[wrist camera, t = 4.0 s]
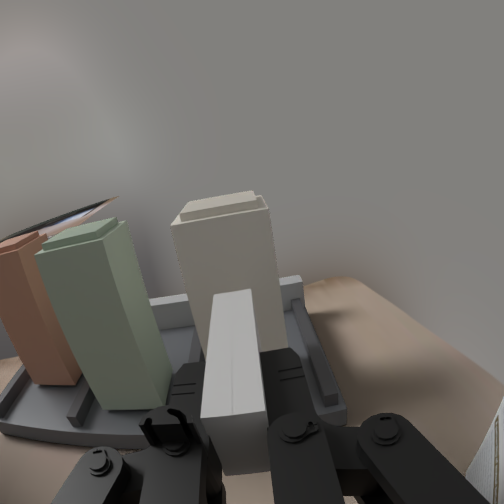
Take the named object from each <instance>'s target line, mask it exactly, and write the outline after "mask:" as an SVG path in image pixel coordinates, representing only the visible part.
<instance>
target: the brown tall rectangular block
mask: <svg viewBox="0 0 504 504" xmlns="http://www.w3.org/2000/svg"><path fill="white" fill-rule="evenodd" d="M47 240H48V238H47V235H46V234H42V235H39V233H38V231H36V232H32V233H29V234H25V235H22V236H18V237H15V238H12V239H8V240H6V241H4V242H2V243H0V318H1V320H2V322H3V324H4V326H5V329H6V331H7V333H8V335H9V337H10V339H11V341H12V343H13V345H14V347H15V349H16V351H17V353H18V355H19V357H20V359H21V361H22V363H23V365H24V366H25V368H26V370H27V372H28V374H29V375H30V377H31V379H32V381H33V382H34V384H38V385H76V383H77V381H78V379H79V378H80V376H81V374H82V371H81V369H80V367H79V365H78V363H77V361H76V359H75V357H74V355H73V353H72V351H71V348H70V346H69V344H68V342H67V340H66V338H65V335H64V333H63V331H62V329H61V326H60V324H59V322H58V319H57V317H56V314H55V312H54V309H53V307H52V304H51V302H50V299H49V297H48V294H47V291H46V289H45V286H44V283H43V280H42V278H41V275H40V272H39V269H38V266H37V263H36V260H35V257H34V255H35V254H36V253H38V252H39V251H41V250H42V249H43V248H42V245H41V244H42V243H44V242H46V241H47Z"/></svg>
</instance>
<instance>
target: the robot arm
mask: <svg viewBox="0 0 504 504" xmlns="http://www.w3.org/2000/svg"><path fill="white" fill-rule="evenodd" d="M171 395H172V396H171V398H170V402H169V405H165V406H160V407H157V408H155V409H153V410H151V411H149V412H148V413H147V414H146V415H145V416H143V417H142V419H141V421H140V423H139V427H140V429H141V430H142V432H143V434H144V435H145V437H146V439H147V440H148V442H149V444H150V445H151V446H150V447H149V448H147V449H144V450H141V451H138V452H134V453H130V454H126V455H120V454H119V452H118V451H117V450H115V449H113V448H111V447H105V446H101V447H96V448H93V449H91V450H89V451H88V452H86V453H85V454H84V455H83V456H82V457H81V458H80V460H79V461H78V463H77V464H76V466H75V467H74V469H73V470H72V472H71V473H70V475H69V476H68V478H67V479H66V481H65V483H64V484H63V486H62V487H61V489H60V490H59V492H58V493H57V495H56V496H55V498H54V499H53V501H52V503H51V504H226V491H225V487H224V484H223V482H222V470H223V472H224V474H225V476H230V475H241V474H251V473H259V472H267V471H271V478H272V486H273V495H274V503H275V504H345V502H344V498H343V496H354V498H355V499H356V501H357V502H358V503H359V504H490V503H489V502H488V501H487V500H486V499H485V498H484V497H483V496H482V495H481V494H480V493H479V492H478V491H477V490H476V489H475V487H474V486H473V485H472V484H471V483H470V482H469V481H468V480H467V479H466V478H465V477H464V476H463V475H462V474H461V473H460V472H459V471H458V470H457V469H456V468H455V467H454V466H453V465H452V464H451V463H450V462H449V461H448V460H447V459H446V458H445V457H444V456H443V455H442V454H441V453H440V452H439V451H438V450H437V449H436V448H435V447H434V446H433V445H432V444H431V443H430V442H429V441H428V440H427V439H426V438H425V437H424V436H423V435H422V434H421V433H420V432H419V431H418V430H417V429H416V428H415V427H414V426H413V425H412V424H411V423H410V422H409V421H408V420H407V419H405V418H404V417H402V416H401V415H397V414H393V413H380V414H377V415H374V416H371V417H370V418H368V419H367V420H365V421H364V422H363V423H362V425H361V426H360V427H341V426H334V425H331V424H328V423H326V422H325V421H323V420H322V419H321V418H320V417H319V416H318V415H317V413H316V411H315V408H314V405H313V401H312V398H311V394H310V391H309V387H308V384H307V381H306V377H305V374H304V370H303V367H302V363H301V360H300V357H299V355H298V354H297V353H296V352H295V351H294V350H293V349H292V348H290V347H288V348H282V349H277V350H271V351H265V352H262V349H261V342H260V337H259V331H258V326H257V320H256V315H255V309H254V303H253V298H252V292H251V289H246V290H240V291H234V292H228V293H221V294H215V295H214V296H213V305H212V313H211V321H210V330H209V339H208V348H207V357H206V361H202V362H193V363H184V364H183V365H182V366H181V368H180V369H179V370H178V371H177V373H176V374H175V379H174V383H173V388H172V393H171Z"/></svg>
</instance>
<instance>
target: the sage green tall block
mask: <svg viewBox="0 0 504 504" xmlns="http://www.w3.org/2000/svg"><path fill="white" fill-rule="evenodd" d="M41 245H42V248H43V249H42V250H41V251H39V252H38V253H36V254H35V255H34V257H35V260H36V263H37V266H38V269H39V272H40V275H41V278H42V280H43V283H44V286H45V289H46V291H47V294H48V297H49V299H50V302H51V304H52V307H53V309H54V312H55V314H56V317H57V319H58V322H59V324H60V326H61V329H62V331H63V333H64V335H65V338H66V340H67V342H68V344H69V346H70V348H71V351H72V353H73V355H74V357H75V359H76V361H77V363H78V365H79V367H80V369H81V371H82V373H83V375H84V377H85V378H86V380H87V382H88V384H89V386H90V388H91V390H92V391H93V393H94V395H95V397H96V399H97V400H98V402H99V404H100V406H101V407H102V409H103V410H134V409H155V408H157V407H160V406H165V404H166V399H167V394H168V390H169V385H170V381H171V376H172V372H173V368H172V366H171V363H170V360H169V358H168V355H167V352H166V349H165V346H164V344H163V341H162V338H161V335H160V332H159V329H158V326H157V323H156V320H155V317H154V314H153V311H152V308H151V305H150V301H149V298H148V295H147V292H146V289H145V285H144V282H143V278H142V275H141V271H140V268H139V265H138V261H137V257H136V254H135V250H134V246H133V242H132V238H131V235H130V231H129V227H128V223H127V221H122V222H118V221H117V217H114V218H109V219H105V220H101V221H96V222H92V223H88V224H84V225H80V226H76V227H72V228H68V229H66V230H64V231H62V232H60V233H59V234H57V235H55V236H54V237H52V238H51V239H49V240H47V241H46V242H44V243H42V244H41Z"/></svg>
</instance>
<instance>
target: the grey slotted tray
mask: <svg viewBox="0 0 504 504" xmlns="http://www.w3.org/2000/svg"><path fill="white" fill-rule="evenodd" d="M279 282H280V289H281V297H282V304H283V312H284V319H285V327H286V335H287V342H288V347H290V348H292V349H293V350H294V351H295V352H296V353H297V354H298V355H299V357H300V360H301V363H302V367H303V370H304V374H305V377H306V381H307V384H308V387H309V391H310V394H311V398H312V401H313V405H314V408H315V411H316V413H317V415H318V416H319V417H320V418H321V419H322V420H323V421H325V422H326V423H328V424H331V425H334V426H342V425H346V423H347V407H346V404H345V402H344V399H343V397H342V394H341V392H340V390H339V387H338V385H337V382H336V380H335V377H334V375H333V372H332V370H331V368H330V365H329V363H328V360H327V358H326V355H325V353H324V351H323V348H322V346H321V343H320V341H319V339H318V336H317V334H316V332H315V329H314V327H313V324H312V322H311V320H310V317H309V315H308V313H307V310H306V308H305V300H304V290H303V282H302V280H301V277H300V276H299V275H295V276H289V277H284V278H279ZM149 301H150V305H151V308H152V311H153V314H154V317H155V320H156V323H157V326H158V329H159V332H160V335H161V338H162V341H163V344H164V346H165V349H166V352H167V355H168V358H169V360H170V363H171V366H172V368H173V372H172V376H171V381H170V385H169V390H168V394H167V399H166V404H165V405H169V402H170V398H171V396H172V395H171V393H172V388H173V383H174V379H175V374H176V373H177V371H178V370H179V369H180V368H181V366H182V365H183V364H184V363H193V362H202V361H206V360H205V357H204V353H203V350H202V347H201V343H200V340H199V336H198V333H197V329H196V326H195V322H194V319H193V315H192V311H191V308H190V304H189V300H188V297H187V294H181V295H173V296H167V297H161V298H154V299H149ZM151 410H153V409H134V410H103V409H102V407H101V406H100V404H99V402H98V400H97V399H96V397H95V395H94V393H93V391H92V390H91V388H90V386H89V384H88V382H87V380H86V378H85V377H84V375H83V373H82V374H81V376H80V378H79V379H78V381H77V383H76V385H38V384H34V382H33V381H32V379H31V377H30V375H29V374H28V372H27V370H26V368H25V366H24V365H22V366H21V367H20V369H19V370H18V371H17V372H16V374H15V375H14V376H13V378H12V379H11V381H10V382H9V383H8V385H7V386H6V387H5V389H4V390H3V391H2V393H1V394H0V431H1V433H3V434H8V435H13V436H18V437H23V438H28V439H34V440H40V441H46V442H53V443H61V444H69V445H78V446H89V447H101V446H105V447H111V448H120V449H147V448H149V447H150V446H151V445H150V444H149V442H148V440H147V439H146V437H145V435H144V434H143V432H142V430H141V429H140V427H139V423H140V421H141V419H142V417H143V416H145V415H146V414H147V413H148V412H149V411H151Z"/></svg>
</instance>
